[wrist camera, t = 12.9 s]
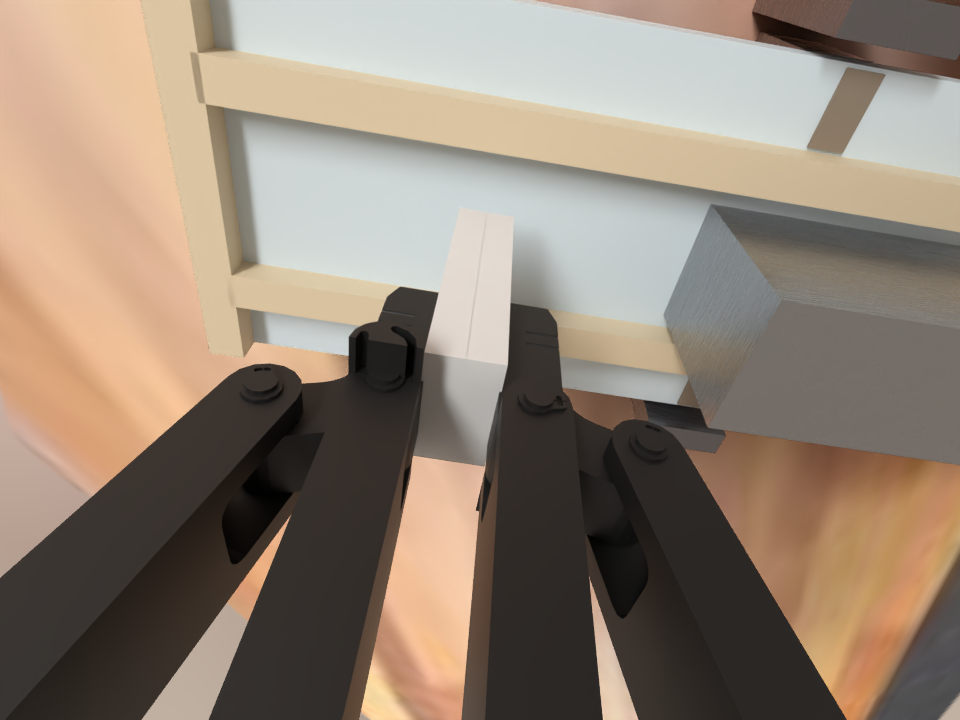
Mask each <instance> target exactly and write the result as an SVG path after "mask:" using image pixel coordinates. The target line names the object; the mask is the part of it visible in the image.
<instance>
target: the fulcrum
mask: <svg viewBox="0 0 960 720" xmlns="http://www.w3.org/2000/svg"><path fill="white" fill-rule="evenodd" d="M753 12H756V13H759V14H762V15H766V16H769V17H772V18H775V19H778V20H781V21H784V22H788V23H791V24H794V25H797V26H800V27H803V28H806V29H810V30H813V31H816V32H819V33H822V34H825V35H828V36H832V37H835V38H839V39H845V40H850V41H855V42H861V43H866V44H871V45H877V46H882V47H887V48H893V49H898V50H903V51H909V52H914V53H919V54H925V55H930V56H935V57H941V58H946V59H951V60H956V59H957V58H958V56H959V54H960V7H959V6H954V5H949V4H944V3H938V2H933V1H928V0H757V1H756V3H755V6H754V8H753ZM756 42H761V43H767V44H772V45H778V46H783V47H788V48H794V49H799V50H805V51H810V52H815V53H821V54H826V55H832V56H837V57H842V58H848V59H853V60H859V61H864V62H869V63H873V62H872V61H869V60H866V59H863V58H860V57H858V56H855V55H852V54H849V53H846V52H843V51H841V50H838V49H835V48H832V47H829V46H826V45H824V44H821V43H818V42H812V41H807V40H802V39H796V38H791V37H786V36H780V35H775V34H769V33H764V32H760V33H759V36H758V38H757V41H756ZM631 399H632V404H633V408H634V412H635V417H636V420H644V421H649V422H651V423H654V424H656V425H659V426H661V427H663V428H664V429H666V430H667V431H669V432H670V433H672V434H673V435H674V436H675V437H676V439H677V440H678V441H679V442H680V443H681V444H682V446H683V448H684V449H691V450H697V451H704V452H710V453H716V451H717V449H718V448H719V446H720V444H721V443H722V441H723V439H724V438H725V436H726V435H725V433H724V430H720V429H713V428H708V427H707V424H706V422H705V419H704V417H703V414H702V412H701V409H700V408H695V407H689V406H682V405H675V404H668V403H662V402H655V401H648V400H642V399H635V398H631Z"/></svg>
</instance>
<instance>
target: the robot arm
mask: <svg viewBox="0 0 960 720" xmlns="http://www.w3.org/2000/svg"><path fill="white" fill-rule="evenodd" d="M513 228H514V217H511V216H505V215H499V214H494V213H488V212H482V211H476V210H470V209H464V208H460V209H459V213H458V217H457V221H456V225H455V229H454V233H453V237H452V241H451V246H450V250H449V254H448V258H447V262H446V266H445V270H444V274H443V278H442V282H441V286H440V290H439V293H437V292H431V291H425V290H419V289H413V288H407V287H401V286H400V287H399V288H397V289H396V290H395V291H394V292H392V293H391V294H390V295H388V296H387V298H386V300H385V303H384V306H383V308H382V312H381V313H380V316H379V319H378V321H376V322H371V323H366V324H364V325H362V326H360V327H358V328H356V329H355V330H354V331H353V332H352V333H351V334H350V336H349V373H348V375H347V376H345V377H343V378H340V379H337V380H334V381H328V382H320V383H306V384H301V379H300V378H299V377H298V375H297V374H296V373H295V372H294V371H292V370H290V369H288V368H287V367H285V366H280V365H275V364H255V365H251V366H248V367H245V368H242V369H239V370H238V371H236V372H234V373H233V374H231V375H230V376H228V377H227V378H226V379H225V380H224V381H222V382H221V383H220V384H219V385H218V386H217V387H216V388H215V389H213V390H212V391H211V392H210V393H209V394H208V395H207V396H205V397H204V398H203V399H202V400H201V401H200V402H199V403H198V404H196V405H195V406H194V407H193V408H192V409H191V410H190V411H189V412H187V413H186V414H185V415H184V416H183V417H182V418H181V419H179V420H178V421H177V422H176V423H175V424H174V425H173V426H172V427H170V428H169V429H168V430H167V431H166V432H165V433H164V434H163V435H161V436H160V437H159V438H158V439H157V440H156V441H155V442H153V443H152V444H151V445H150V446H149V447H148V448H147V449H146V450H144V451H143V452H142V453H141V454H140V455H139V456H138V457H137V458H135V459H134V460H133V461H132V462H131V463H130V464H129V465H127V466H126V467H125V468H124V469H123V470H122V471H121V472H120V473H118V474H117V475H116V476H115V477H114V478H113V479H112V480H110V481H109V482H108V483H107V484H106V485H105V486H104V487H103V488H101V489H100V490H99V491H98V492H97V493H96V494H95V495H94V496H92V497H91V498H90V499H89V500H88V501H87V502H86V503H85V504H83V505H82V506H81V507H80V508H79V509H78V510H77V511H75V512H74V513H73V514H72V515H71V516H70V517H69V518H68V519H66V520H65V521H64V522H63V523H62V524H61V525H60V526H59V527H57V528H56V529H55V530H54V531H53V532H52V533H51V534H50V535H48V536H47V537H46V538H45V539H44V540H43V541H42V542H40V543H39V544H38V545H37V546H36V547H35V548H34V549H33V550H31V551H30V552H29V553H28V554H27V555H26V556H25V557H23V558H22V559H21V560H20V561H19V562H18V563H17V564H16V565H14V566H13V567H12V568H11V569H10V570H9V571H8V572H7V573H5V574H4V575H3V576H2V577H1V578H0V720H142V718H143V717H144V715H145V714H146V713H147V711H148V710H149V709H150V707H151V706H152V704H153V703H154V702H155V700H156V699H157V697H158V696H159V695H160V693H161V692H162V691H163V689H164V688H165V686H166V685H167V684H168V683H169V681H170V680H171V678H172V677H173V676H174V674H175V673H176V672H177V670H178V669H179V667H180V666H181V665H182V663H183V662H184V661H185V659H186V658H187V656H188V655H189V653H190V652H191V651H192V650H193V648H194V647H195V645H196V644H197V643H198V641H199V640H200V639H201V637H202V636H203V634H204V633H205V632H206V630H207V629H208V628H209V626H210V625H211V623H212V622H213V621H214V619H215V618H216V616H217V615H218V614H219V612H220V611H221V610H222V608H223V607H224V606H225V604H226V603H227V602H228V600H229V599H230V597H231V596H232V595H233V593H234V592H235V591H236V589H237V588H238V586H239V585H240V584H241V582H242V581H243V580H244V578H245V577H246V575H247V574H248V573H249V571H250V570H251V569H252V567H253V566H254V565H255V563H256V562H257V560H258V559H259V558H260V556H261V555H262V554H263V552H264V551H265V549H266V548H267V547H268V545H269V544H270V543H271V541H272V540H273V538H274V537H275V536H276V534H277V533H278V532H279V530H280V529H281V527H282V526H283V525H284V523H285V522H286V521H287V519H288V518H289V516H290V515H291V517H290V519H289V522H288V524H287V527H286V529H285V532H284V534H283V537H282V539H281V542H280V544H279V547H278V549H277V552H276V554H275V557H274V559H273V562H272V564H271V567H270V569H269V571H268V574H267V576H266V579H265V581H264V584H263V586H262V589H261V591H260V594H259V596H258V599H257V601H256V604H255V606H254V609H253V611H252V614H251V616H250V619H249V621H248V624H247V626H246V629H245V631H244V634H243V636H242V639H241V641H240V643H239V646H238V649H237V651H236V653H235V656H234V658H233V661H232V663H231V666H230V668H229V671H228V673H227V676H226V678H225V681H224V683H223V686H222V688H221V690H220V693H219V696H218V698H217V700H216V703H215V706H214V708H213V710H212V713H211V715H210V718H209V720H359V717H360V712H361V708H362V703H363V698H364V693H365V689H366V684H367V679H368V674H369V670H370V665H371V660H372V655H373V651H374V646H375V641H376V636H377V632H378V627H379V622H380V617H381V613H382V608H383V603H384V599H385V594H386V589H387V584H388V580H389V575H390V570H391V565H392V561H393V556H394V551H395V546H396V542H397V537H398V532H399V527H400V523H401V518H402V513H403V508H404V504H405V499H406V494H407V489H408V485H409V480H410V474H411V465H412V458H413V456H419V457H426V458H433V459H439V460H446V461H452V462H459V463H466V464H472V465H479V466H484V465H485V461H486V468H485V473H484V478H483V482H482V486H481V490H480V495H479V499H478V503H477V507H476V511H479V520H478V532H477V544H476V555H475V567H474V579H473V591H472V603H471V615H470V626H469V638H468V650H467V662H466V674H465V686H464V698H463V709H462V720H603V717H602V707H601V696H600V686H599V675H598V665H597V655H596V644H595V634H594V624H593V613H592V603H591V593H590V582H589V577H590V580H591V583H592V586H593V588H594V591H595V594H596V597H597V600H598V603H599V606H600V609H601V612H602V615H603V618H604V620H605V623H606V626H607V629H608V632H609V635H610V638H611V641H612V644H613V647H614V650H615V652H616V655H617V658H618V661H619V664H620V667H621V670H622V673H623V676H624V679H625V682H626V684H627V687H628V690H629V693H630V696H631V699H632V702H633V705H634V708H635V711H636V714H637V717H638V719H639V720H847V719H846V718H845V716H844V714H843V713H842V711H841V709H840V708H839V706H838V704H837V703H836V701H835V699H834V698H833V696H832V694H831V693H830V691H829V689H828V688H827V686H826V684H825V683H824V681H823V679H822V678H821V676H820V674H819V673H818V671H817V669H816V668H815V666H814V664H813V663H812V661H811V659H810V658H809V656H808V654H807V653H806V651H805V649H804V648H803V646H802V644H801V643H800V641H799V639H798V638H797V636H796V634H795V633H794V631H793V629H792V628H791V626H790V624H789V623H788V621H787V619H786V618H785V616H784V614H783V613H782V611H781V609H780V608H779V606H778V604H777V603H776V601H775V599H774V598H773V596H772V594H771V593H770V591H769V589H768V588H767V586H766V584H765V583H764V581H763V579H762V578H761V576H760V574H759V573H758V571H757V569H756V568H755V566H754V564H753V563H752V561H751V559H750V558H749V556H748V554H747V553H746V551H745V549H744V548H743V546H742V544H741V543H740V541H739V539H738V538H737V536H736V534H735V533H734V531H733V529H732V528H731V526H730V524H729V523H728V521H727V519H726V518H725V516H724V514H723V513H722V511H721V509H720V508H719V506H718V504H717V503H716V501H715V499H714V498H713V496H712V494H711V493H710V491H709V489H708V488H707V486H706V484H705V483H704V481H703V479H702V478H701V476H700V474H699V473H698V471H697V469H696V468H695V466H694V464H693V463H692V461H691V459H690V458H689V456H688V454H687V453H686V451H685V449H684V448H683V446H682V444H681V443H680V442H679V441H678V440H677V439H676V437H675V436H674V435H673V434H672V433H670V432H669V431H667V430H666V429H664V428H663V427H661V426H659V425H656V424H654V423H651V422H649V421H644V420H636V419H633V420H628V421H623V422H621V423H620V424H619V425H617V426H616V427H615V428H614V430H613V431H612V430H610V429H607V428H605V427H602V426H600V425H597V424H595V423H593V422H591V421H589V420H587V419H585V418H583V417H582V416H580V415H579V414H577V413H576V412H575V411H574V410H573V407H572V404H571V402H570V399H569V397H568V396H567V395H566V394H565V393H564V392H563V389H562V377H561V365H560V353H559V341H558V328H557V322H556V320H555V319H554V318H553V316H552V315H551V313H550V312H549V310H548V309H544V308H538V307H532V306H526V305H520V304H514V303H510V300H511V276H512V252H513Z"/></svg>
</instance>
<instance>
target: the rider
mask: <svg viewBox="0 0 960 720" xmlns="http://www.w3.org/2000/svg"><path fill="white" fill-rule="evenodd" d="M663 315H664V317H665V320H666V322H667V325H668V327H669V330H670V332H671V335H672V338H673V340H674V343H675V345H676V348H677V350H678V353H679V355H680V358H681V361H682V363H683V366H684V368H685V371H686V373H687V376H688V378H689V381H690V383H691V386H692V389H693V391H694V394H695V396H696V399H697V401H698V404H699V406H700V409H701V412H702V414H703V417H704V419H705V422H706V424H707V427H708V428H713V429H720V430H727V431H733V432H740V433H747V434H754V435H760V436H767V437H774V438H781V439H787V440H794V441H801V442H808V443H814V444H821V445H828V446H835V447H842V448H848V449H855V450H862V451H869V452H875V453H882V454H889V455H896V456H902V457H909V458H916V459H923V460H929V461H936V462H943V463H950V464H956V465H960V246H957V245H951V244H945V243H939V242H933V241H927V240H922V239H916V238H910V237H904V236H898V235H892V234H886V233H880V232H874V231H869V230H863V229H857V228H851V227H845V226H839V225H833V224H827V223H821V222H816V221H810V220H804V219H798V218H792V217H786V216H780V215H774V214H768V213H763V212H757V211H751V210H745V209H739V208H733V207H727V206H721V205H715V204H710V207H709V209H708V211H707V214H706V216H705V218H704V221H703V223H702V225H701V228H700V230H699V232H698V235H697V237H696V239H695V242H694V244H693V246H692V249H691V251H690V253H689V256H688V258H687V260H686V263H685V265H684V267H683V270H682V272H681V274H680V277H679V279H678V281H677V284H676V286H675V288H674V291H673V293H672V295H671V298H670V300H669V302H668V305H667V307H666V309H665V312H664V314H663Z"/></svg>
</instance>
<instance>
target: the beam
mask: <svg viewBox="0 0 960 720" xmlns="http://www.w3.org/2000/svg"><path fill="white" fill-rule="evenodd" d="M140 1H141V7H142V12H143V17H144V22H145V27H146V32H147V37H148V42H149V47H150V52H151V57H152V62H153V67H154V72H155V77H156V82H157V87H158V93H159V98H160V103H161V108H162V113H163V118H164V123H165V128H166V133H167V138H168V143H169V148H170V153H171V158H172V163H173V168H174V173H175V179H176V184H177V189H178V194H179V199H180V204H181V209H182V214H183V219H184V224H185V229H186V234H187V239H188V244H189V249H190V254H191V259H192V265H193V270H194V275H195V280H196V285H197V290H198V295H199V300H200V305H201V310H202V315H203V320H204V325H205V330H206V335H207V340H208V346H209V351H210V353H212V354H219V355H226V356H232V357H239V358H244V357H245V355H246V354H247V352H248V351H249V349H250V348H251V346H252V345H253V343H254V342H258V343H265V344H272V345H278V346H285V347H292V348H299V349H305V350H312V351H319V352H325V353H332V354H339V355H346V356H349V336H350V334H351V333H352V332H353V331H354V330H355V329H356V328H358V327H360V326H362V325H364V324H366V323H371V322H376V321H378V319H379V316H380V313H381V312H382V308H383V306H384V303H385V300H386V298H387V296H388V295H390V294H391V293H392V292H394V291H395V290H396V289H397V288H399V287H400V286H401V287H407V288H413V289H419V290H425V291H431V292H437V293H439V290H440V286H441V282H442V278H443V274H444V270H445V266H446V262H447V258H448V254H449V250H450V246H451V241H452V237H453V233H454V229H455V225H456V221H457V217H458V213H459V209H460V208H464V209H470V210H476V211H482V212H488V213H494V214H499V215H505V216H511V217H514V228H513V252H512V276H511V300H510V303H514V304H520V305H526V306H532V307H538V308H544V309H548V310H549V312H550V313H551V315H552V316H553V318H554V319H555V320H556V322H557V328H558V341H559V353H560V365H561V377H562V388H568V389H574V390H581V391H588V392H594V393H601V394H608V395H615V396H621V397H628V398H635V399H642V400H648V401H655V402H662V403H668V404H675V405H682V406H689V407H695V408H700V406H699V404H698V401H697V399H696V396H695V394H694V391H693V389H692V386H691V383H690V381H689V378H688V376H687V373H686V371H685V368H684V366H683V363H682V361H681V358H680V355H679V353H678V350H677V348H676V345H675V343H674V340H673V338H672V335H671V332H670V330H669V327H668V325H667V322H666V320H665V317H664V315H663V314H664V312H665V309H666V307H667V305H668V302H669V300H670V298H671V295H672V293H673V291H674V288H675V286H676V284H677V281H678V279H679V277H680V274H681V272H682V270H683V267H684V265H685V263H686V260H687V258H688V256H689V253H690V251H691V249H692V246H693V244H694V242H695V239H696V237H697V235H698V232H699V230H700V228H701V225H702V223H703V221H704V218H705V216H706V214H707V211H708V209H709V207H710V204H715V205H721V206H727V207H733V208H739V209H745V210H751V211H757V212H763V213H768V214H774V215H780V216H786V217H792V218H798V219H804V220H810V221H816V222H821V223H827V224H833V225H839V226H845V227H851V228H857V229H863V230H869V231H874V232H880V233H886V234H892V235H898V236H904V237H910V238H916V239H922V240H927V241H933V242H939V243H945V244H951V245H957V246H960V79H956V78H951V77H945V76H940V75H934V74H929V73H924V72H918V71H913V70H907V69H902V68H896V67H891V66H886V65H880V64H875V63H869V62H864V61H859V60H853V59H848V58H842V57H837V56H832V55H826V54H821V53H815V52H810V51H805V50H799V49H794V48H788V47H783V46H778V45H772V44H767V43H761V42H756V41H750V40H745V39H740V38H734V37H729V36H723V35H718V34H713V33H707V32H702V31H696V30H691V29H686V28H680V27H675V26H669V25H664V24H659V23H653V22H648V21H642V20H637V19H632V18H626V17H621V16H615V15H610V14H604V13H599V12H594V11H588V10H583V9H577V8H572V7H567V6H561V5H556V4H550V3H545V2H540V1H534V0H140Z"/></svg>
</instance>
